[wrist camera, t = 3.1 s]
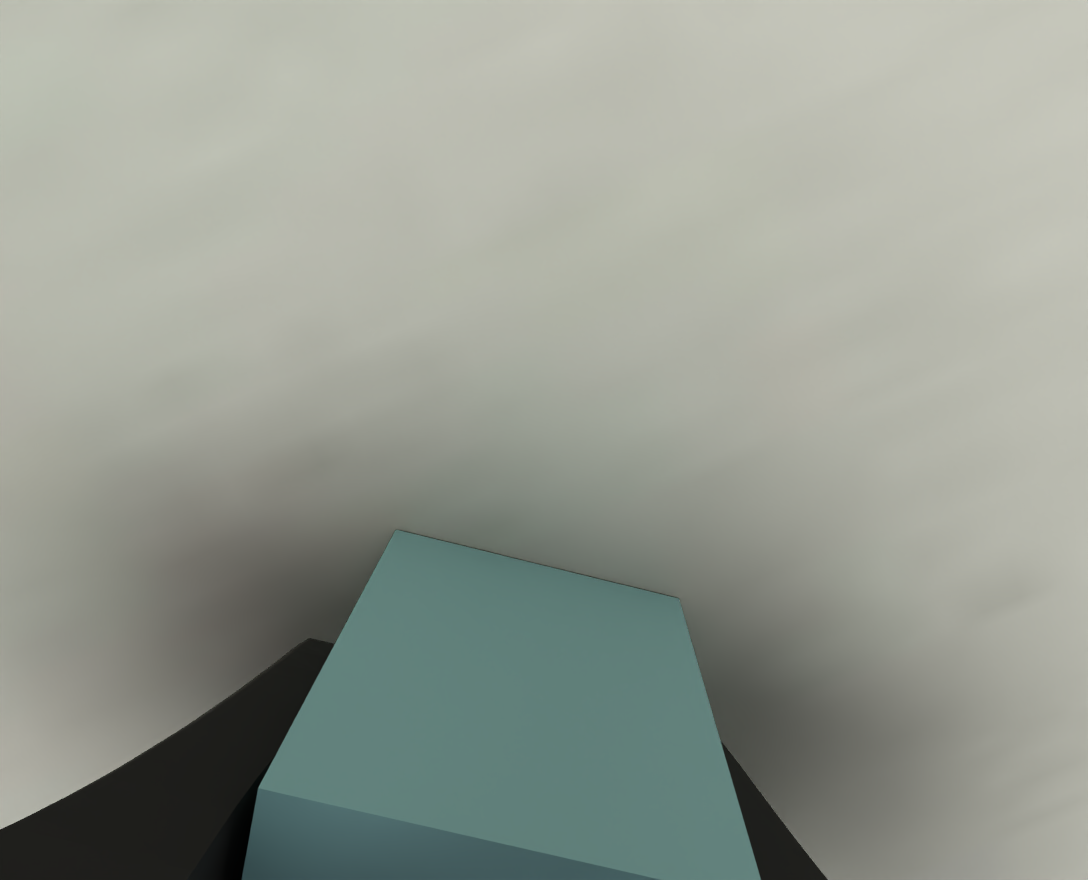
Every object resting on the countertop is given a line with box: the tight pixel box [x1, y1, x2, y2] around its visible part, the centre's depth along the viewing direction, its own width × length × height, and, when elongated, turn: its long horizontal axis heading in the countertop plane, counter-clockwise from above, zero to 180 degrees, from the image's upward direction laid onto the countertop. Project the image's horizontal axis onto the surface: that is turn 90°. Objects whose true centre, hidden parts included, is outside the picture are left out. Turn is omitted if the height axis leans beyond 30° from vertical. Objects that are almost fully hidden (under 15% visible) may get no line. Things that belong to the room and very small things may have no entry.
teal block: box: [242, 530, 761, 880], centre depth 9 cm, size 4×4×5 cm
